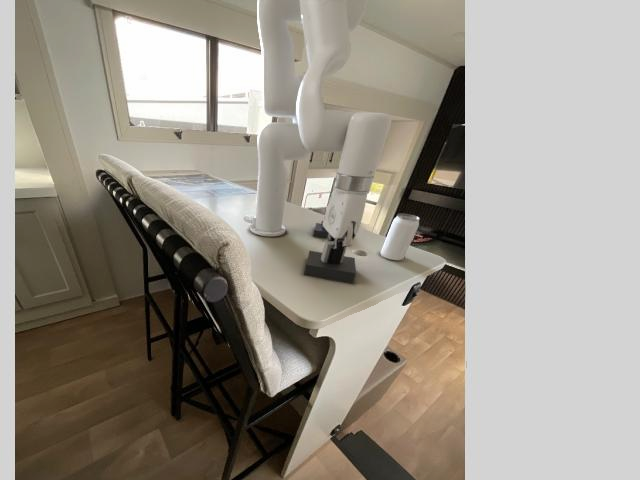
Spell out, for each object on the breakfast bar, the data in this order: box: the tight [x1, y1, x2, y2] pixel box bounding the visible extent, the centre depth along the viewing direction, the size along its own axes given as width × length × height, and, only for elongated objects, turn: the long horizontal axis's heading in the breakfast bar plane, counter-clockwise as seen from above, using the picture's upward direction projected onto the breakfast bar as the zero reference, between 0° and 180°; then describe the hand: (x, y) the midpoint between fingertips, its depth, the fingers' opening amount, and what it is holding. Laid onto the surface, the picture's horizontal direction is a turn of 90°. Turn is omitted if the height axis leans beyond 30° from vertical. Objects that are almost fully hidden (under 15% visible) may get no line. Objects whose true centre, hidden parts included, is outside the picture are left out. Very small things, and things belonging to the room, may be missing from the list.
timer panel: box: [303, 250, 357, 285], centre depth 66 cm, size 12×9×3 cm
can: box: [380, 213, 421, 262], centre depth 72 cm, size 6×6×12 cm
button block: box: [312, 220, 345, 241], centre depth 88 cm, size 10×8×4 cm
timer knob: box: [321, 240, 348, 263], centre depth 64 cm, size 5×2×5 cm, turn 93°
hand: (331, 259), depth 65 cm, fingers closed on timer knob, 2 cm apart
